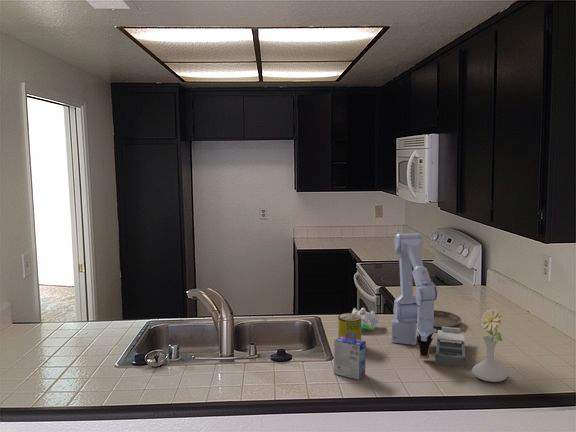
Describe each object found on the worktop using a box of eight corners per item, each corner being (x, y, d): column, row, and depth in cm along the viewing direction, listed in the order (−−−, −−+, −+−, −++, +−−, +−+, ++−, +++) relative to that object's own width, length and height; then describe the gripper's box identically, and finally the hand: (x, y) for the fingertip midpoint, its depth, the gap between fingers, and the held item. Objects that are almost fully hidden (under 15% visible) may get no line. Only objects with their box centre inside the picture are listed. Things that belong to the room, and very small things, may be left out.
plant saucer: (460, 335, 215) (460, 327, 214) (410, 329, 222) (410, 322, 221) (461, 319, 234) (462, 312, 233) (415, 315, 241) (415, 308, 240)
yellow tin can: (365, 345, 204) (365, 316, 202) (352, 352, 197) (352, 322, 196) (347, 340, 210) (347, 311, 208) (333, 346, 203) (333, 317, 202)
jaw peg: (417, 358, 187) (418, 342, 187) (418, 353, 192) (419, 338, 191) (430, 359, 186) (430, 343, 185) (430, 355, 190) (431, 339, 189)
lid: (437, 339, 199) (437, 334, 199) (437, 331, 208) (438, 326, 208) (464, 342, 196) (464, 336, 196) (463, 333, 205) (464, 328, 205)
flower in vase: (467, 370, 180) (469, 301, 177) (499, 370, 180) (503, 301, 177) (479, 387, 167) (482, 313, 164) (515, 387, 167) (518, 313, 164)
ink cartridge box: (366, 374, 178) (366, 334, 176) (359, 380, 173) (360, 339, 172) (340, 368, 183) (340, 329, 181) (333, 374, 179) (333, 334, 177)
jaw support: (344, 324, 219) (349, 304, 225) (348, 334, 226) (352, 314, 231) (371, 328, 215) (376, 308, 220) (374, 338, 221) (379, 318, 226)
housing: (435, 364, 186) (435, 354, 185) (437, 345, 203) (437, 337, 202) (464, 367, 183) (465, 358, 182) (463, 348, 200) (464, 339, 199)
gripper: (436, 324, 179) (435, 362, 181) (437, 312, 192) (436, 346, 194) (415, 323, 181) (414, 359, 183) (418, 310, 195) (417, 344, 196)
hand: (424, 352), depth 189 cm, fingers closed on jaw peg, 4 cm apart
